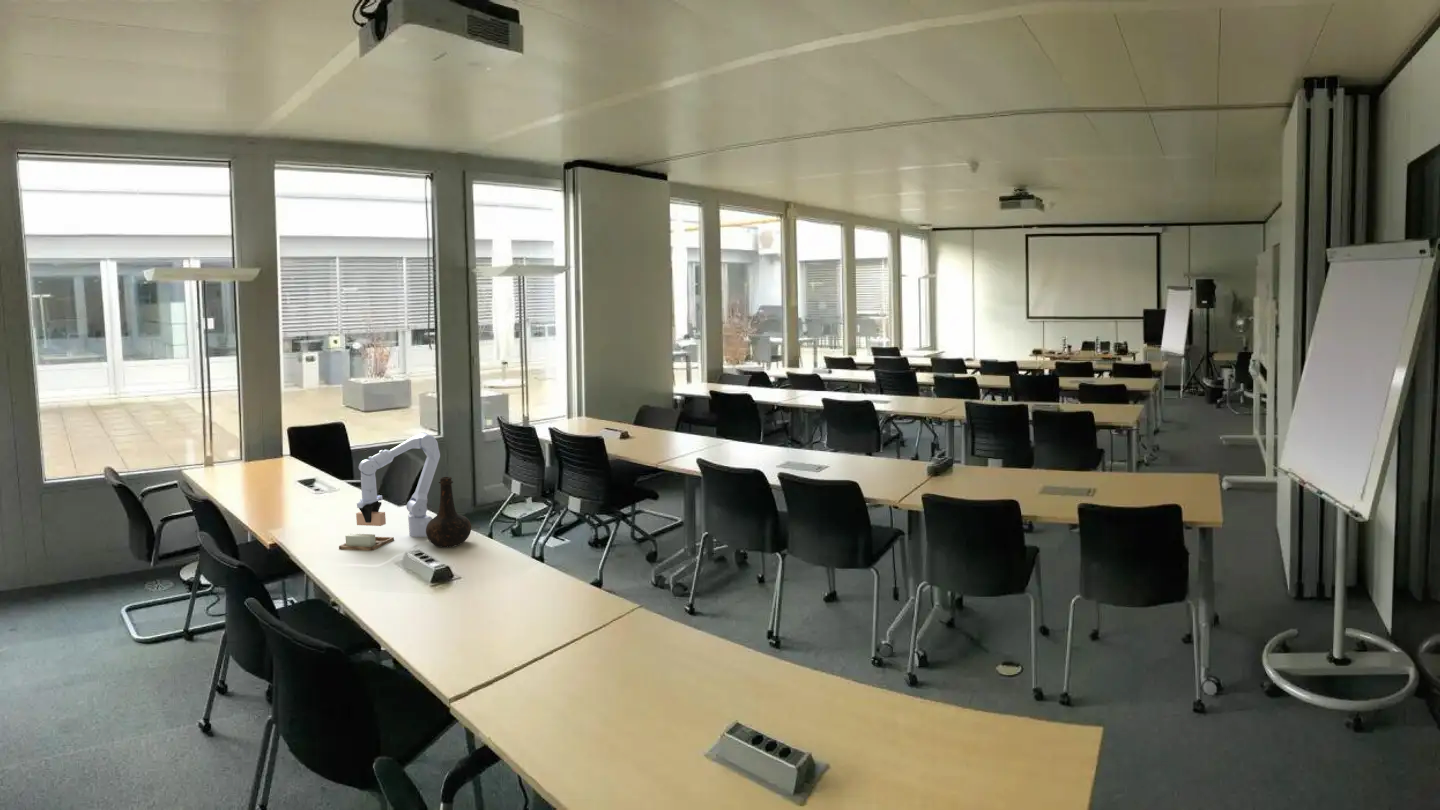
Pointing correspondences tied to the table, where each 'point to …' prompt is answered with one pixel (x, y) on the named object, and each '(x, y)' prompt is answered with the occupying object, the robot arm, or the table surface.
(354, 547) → the rack
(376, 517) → the peach rectangular block
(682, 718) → the table surface
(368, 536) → the grey-green block
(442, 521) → the glass bottle
